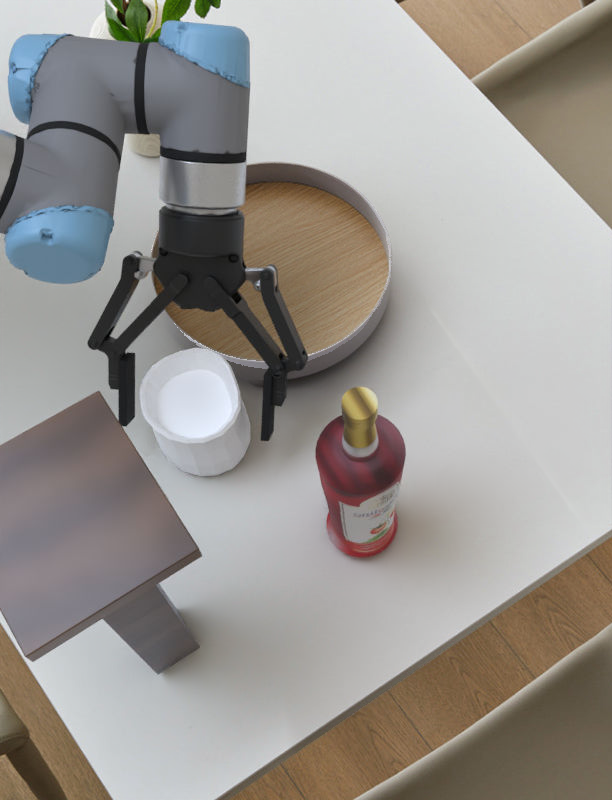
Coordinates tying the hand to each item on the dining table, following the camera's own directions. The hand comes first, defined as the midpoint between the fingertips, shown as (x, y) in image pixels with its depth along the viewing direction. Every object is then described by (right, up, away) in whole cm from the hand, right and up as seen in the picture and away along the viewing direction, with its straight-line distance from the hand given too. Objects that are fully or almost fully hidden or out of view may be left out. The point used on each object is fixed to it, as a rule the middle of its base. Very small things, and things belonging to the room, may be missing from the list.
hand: (196, 429), depth 98 cm
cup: (0, -1, +6) cm, 6 cm away
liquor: (+16, -10, +2) cm, 19 cm away
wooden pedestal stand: (-2, -19, -4) cm, 20 cm away
